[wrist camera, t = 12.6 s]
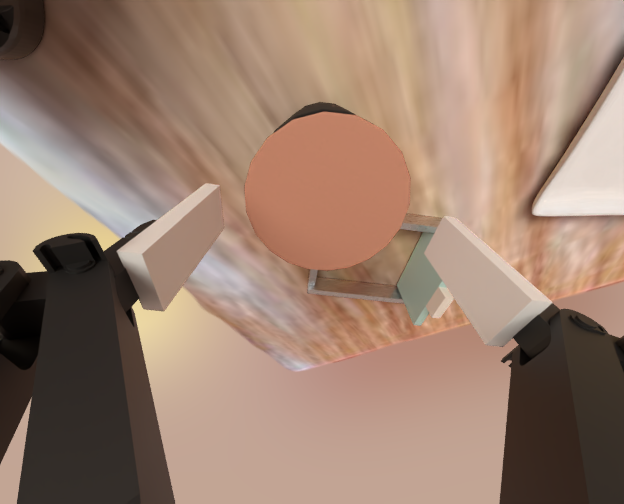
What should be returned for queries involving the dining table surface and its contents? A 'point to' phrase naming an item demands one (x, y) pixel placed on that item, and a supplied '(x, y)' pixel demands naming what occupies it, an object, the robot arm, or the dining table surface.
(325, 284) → the open-ended rimmed tray
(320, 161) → the coffee jar
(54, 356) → the robot arm
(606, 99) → the salad plate
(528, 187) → the dining table surface
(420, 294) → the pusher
